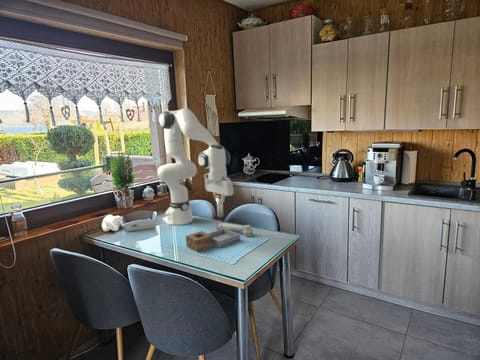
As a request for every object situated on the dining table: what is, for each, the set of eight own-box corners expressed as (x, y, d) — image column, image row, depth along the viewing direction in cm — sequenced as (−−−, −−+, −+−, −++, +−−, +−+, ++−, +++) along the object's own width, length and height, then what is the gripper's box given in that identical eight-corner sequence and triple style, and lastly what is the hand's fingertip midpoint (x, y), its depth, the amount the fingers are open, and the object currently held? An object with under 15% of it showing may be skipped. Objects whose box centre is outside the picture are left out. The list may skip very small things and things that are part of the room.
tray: (203, 240, 171) (203, 234, 171) (223, 234, 180) (223, 228, 180) (219, 247, 161) (219, 241, 160) (239, 240, 170) (239, 234, 169)
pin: (216, 216, 168) (215, 195, 166) (221, 214, 170) (219, 194, 168) (220, 217, 166) (218, 196, 164) (224, 215, 168) (223, 195, 166)
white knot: (97, 233, 191) (95, 219, 189) (109, 226, 202) (107, 213, 201) (113, 233, 188) (112, 219, 187) (124, 227, 200) (123, 213, 198)
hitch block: (186, 246, 164) (185, 235, 163) (202, 241, 171) (201, 230, 170) (197, 252, 157) (196, 240, 156) (213, 246, 163) (212, 235, 162)
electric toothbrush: (221, 221, 192) (253, 222, 176) (222, 232, 192) (255, 234, 177) (215, 223, 188) (248, 225, 172) (217, 234, 188) (250, 237, 173)
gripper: (235, 177, 158) (236, 203, 161) (211, 173, 173) (213, 197, 176) (225, 179, 154) (227, 206, 157) (202, 174, 169) (204, 199, 172)
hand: (219, 201), depth 166 cm, fingers closed on pin, 3 cm apart
